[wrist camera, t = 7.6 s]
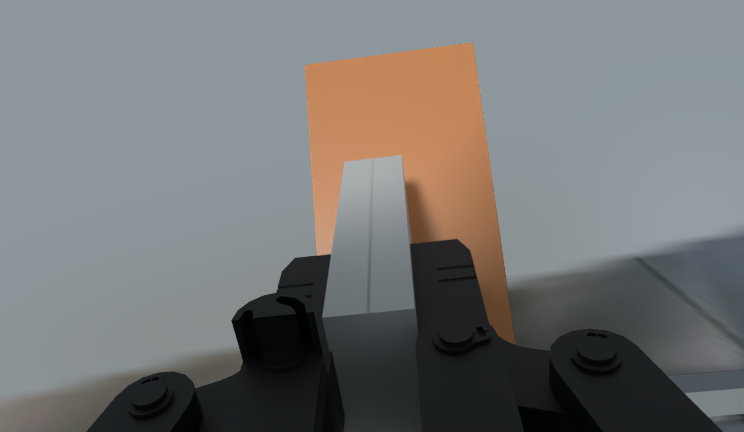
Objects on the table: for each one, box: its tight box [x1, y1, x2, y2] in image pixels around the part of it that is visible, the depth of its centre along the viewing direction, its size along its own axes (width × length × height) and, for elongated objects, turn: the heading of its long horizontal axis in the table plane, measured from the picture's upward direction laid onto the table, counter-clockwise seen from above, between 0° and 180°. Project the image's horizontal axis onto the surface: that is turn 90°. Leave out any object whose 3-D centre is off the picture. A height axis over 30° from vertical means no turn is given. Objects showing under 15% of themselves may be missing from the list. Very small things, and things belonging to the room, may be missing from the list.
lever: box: [305, 43, 515, 432], centre depth 17 cm, size 6×2×13 cm
